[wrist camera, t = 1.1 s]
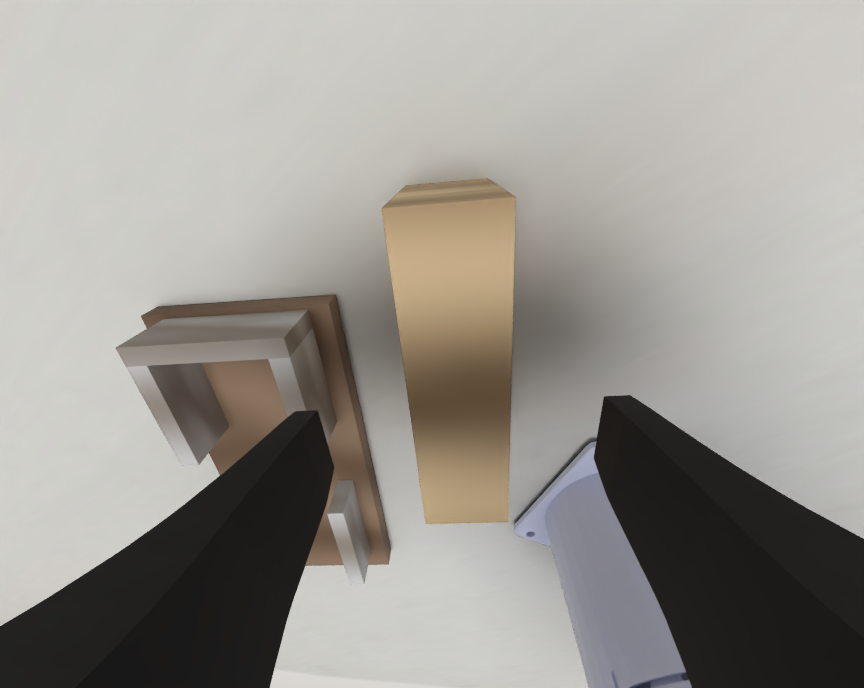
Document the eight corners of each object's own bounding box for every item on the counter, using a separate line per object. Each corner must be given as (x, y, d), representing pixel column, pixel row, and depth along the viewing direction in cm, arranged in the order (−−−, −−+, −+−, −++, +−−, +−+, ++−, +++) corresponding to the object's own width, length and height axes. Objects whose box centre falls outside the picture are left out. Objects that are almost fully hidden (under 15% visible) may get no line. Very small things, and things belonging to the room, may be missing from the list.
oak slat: (489, 415, 18) (508, 521, 13) (431, 417, 19) (425, 524, 13) (487, 178, 13) (515, 196, 8) (406, 185, 14) (381, 208, 8)
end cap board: (390, 548, 24) (382, 608, 21) (271, 551, 24) (246, 609, 21) (335, 294, 16) (307, 331, 12) (157, 306, 16) (89, 344, 13)
